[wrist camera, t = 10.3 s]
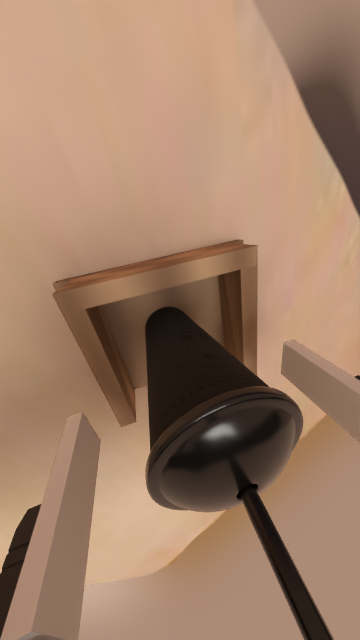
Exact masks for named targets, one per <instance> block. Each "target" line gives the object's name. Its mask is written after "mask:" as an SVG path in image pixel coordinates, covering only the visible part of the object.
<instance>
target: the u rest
mask: <svg viewBox="0 0 360 640" xmlns="http://www.w3.org/2000/svg"><path fill="white" fill-rule="evenodd" d="M257 250H258V245H246V244H243V240H234V241H230V242H226V243H221V244H217V245H213V246H208V247H204V248H199V249H195V250H191V251H186V252H182V253H178V254H173V255H169V256H165V257H160V258H156V259H151V260H147V261H143V262H138V263H134V264H130V265H125V266H121V267H117V268H112V269H108V270H104V271H99V272H95V273H90V274H86V275H82V276H77V277H73V278H69V279H64V280H60V281H56V282H55V283H53V286H54V288H55V290H56V292H55V293H53V294H52V295H53V297H54V299H55V300H56V302H57V304H58V306H59V308H60V310H61V312H62V314H63V316H64V318H65V320H66V322H67V324H68V326H69V327H70V329H71V331H72V333H73V335H74V337H75V339H76V341H77V343H78V345H79V347H80V349H81V351H82V352H83V354H84V356H85V358H86V360H87V362H88V364H89V366H90V368H91V370H92V372H93V374H94V376H95V378H96V379H97V381H98V383H99V385H100V387H101V389H102V391H103V393H104V395H105V397H106V399H107V401H108V403H109V405H110V406H111V408H112V410H113V412H114V414H115V416H116V418H117V420H118V422H119V424H120V426H121V427H123V426H126V425H128V424H131V423H134V422H136V408H135V389H136V388H139V387H142V386H145V385H148V383H147V360H146V337H145V326H146V322H147V320H148V318H149V317H150V315H151V314H152V313H154V312H155V311H156V310H158V309H160V308H164V307H175V308H178V309H180V310H181V311H183V312H184V313H185V314H186V315H187V316H189V317H190V318H191V319H192V320H193V321H194V322H195V323H197V324H198V325H199V326H200V327H201V328H202V329H203V330H205V331H206V332H207V333H208V334H209V335H210V336H212V337H213V338H214V339H215V340H216V341H217V342H218V343H220V344H221V345H222V346H223V347H224V348H225V349H226V350H228V351H229V352H230V353H231V354H232V355H233V356H234V357H236V358H237V359H238V360H239V361H240V362H241V363H243V364H244V365H245V366H246V367H247V368H248V369H249V370H251V371H252V372H253V373H254V374H255V375H256V376H257Z"/></svg>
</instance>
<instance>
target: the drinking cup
mask: <svg viewBox="0 0 360 640" xmlns="http://www.w3.org/2000/svg"><path fill="white" fill-rule="evenodd" d="M145 337H146V360H147V383H148V406H149V429H150V454H149V456H148V460H147V464H146V470H145V476H146V485H147V490H148V492H149V494H150V496H151V497H152V499H153V500H154V501H155V502H156V503H158V504H159V505H161V506H163V507H166V508H169V509H174V510H191V511H197V512H216V511H223V510H228V509H231V508H234V507H236V506H239V505H241V504H244V506H245V508H246V511H247V513H248V515H249V517H250V520H251V522H252V524H253V526H254V528H255V531H256V533H257V535H258V538H259V540H260V542H261V544H262V546H263V549H264V551H265V553H266V555H267V558H268V560H269V562H270V564H271V567H272V569H273V571H274V573H275V576H276V578H277V580H278V582H279V584H280V587H281V589H282V591H283V593H284V596H285V598H286V600H287V602H288V605H289V607H290V609H291V611H292V613H293V616H294V618H295V620H296V622H297V625H298V627H299V629H300V631H301V634H302V636H303V638H304V640H334V639H333V637H332V635H331V633H330V631H329V629H328V627H327V625H326V623H325V621H324V619H323V617H322V616H321V614H320V612H319V610H318V608H317V606H316V604H315V602H314V600H313V598H312V596H311V594H310V592H309V591H308V589H307V587H306V585H305V583H304V581H303V579H302V577H301V575H300V574H299V571H298V569H297V568H296V566H295V564H294V562H293V560H292V558H291V556H290V554H289V552H288V550H287V548H286V546H285V545H284V543H283V541H282V539H281V537H280V535H279V533H278V531H277V529H276V527H275V525H274V523H273V522H272V520H271V518H270V516H269V514H268V512H267V510H266V508H265V506H264V504H263V502H262V501H261V498H260V497H259V494H260V493H262V492H263V491H264V490H265V489H267V488H268V487H269V486H270V485H271V484H272V483H273V482H274V481H275V480H276V478H277V477H278V476H279V474H280V473H281V472H282V470H283V469H284V467H285V465H286V464H287V461H288V460H289V457H290V455H291V452H292V451H293V449H294V447H295V446H296V444H297V442H298V440H299V438H300V435H301V432H302V428H303V416H302V413H301V410H300V408H299V406H298V405H297V404H296V403H295V402H294V401H293V400H292V399H291V398H290V397H289V396H288V395H287V394H285V393H283V392H282V391H280V390H277V389H274V388H271V387H269V386H268V385H267V384H265V383H264V382H263V381H262V380H261V379H260V378H259V377H257V376H256V375H255V374H254V373H253V372H252V371H251V370H249V369H248V368H247V367H246V366H245V365H244V364H243V363H241V362H240V361H239V360H238V359H237V358H236V357H234V356H233V355H232V354H231V353H230V352H229V351H228V350H226V349H225V348H224V347H223V346H222V345H221V344H220V343H218V342H217V341H216V340H215V339H214V338H213V337H212V336H210V335H209V334H208V333H207V332H206V331H205V330H203V329H202V328H201V327H200V326H199V325H198V324H197V323H195V322H194V321H193V320H192V319H191V318H190V317H189V316H187V315H186V314H185V313H184V312H183V311H181V310H180V309H178V308H175V307H164V308H160V309H158V310H156V311H155V312H154V313H152V314H151V315H150V317H149V318H148V320H147V322H146V326H145Z"/></svg>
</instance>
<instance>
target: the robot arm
mask: <svg viewBox="0 0 360 640" xmlns="http://www.w3.org/2000/svg"><path fill="white" fill-rule="evenodd" d="M281 374H282V375H283V376H285V377H286V378H287V379H288V380H289V381H290V382H291V383H293V384H294V385H295V386H296V387H297V388H298V389H299V390H300V391H302V392H303V393H304V394H305V395H306V396H307V397H308V398H309V399H311V400H312V401H313V402H314V403H315V404H316V405H317V406H318V407H320V408H321V409H322V410H323V411H324V412H325V413H326V414H327V415H329V416H330V417H331V418H332V419H333V420H334V421H335V422H337V423H338V424H339V425H340V426H341V427H342V428H343V429H345V430H346V431H347V432H348V433H349V434H350V435H351V436H352V437H353V438H355V439H356V440H357V441H358V442H359V443H360V376H359V375H358V376H355V377H353V376H351V375H350V374H348V373H347V372H345V371H343V370H342V369H340V368H339V367H337V366H335V365H334V364H332V363H331V362H329V361H327V360H326V359H324V358H323V357H321V356H319V355H318V354H316V353H314V352H313V351H311V350H310V349H308V348H306V347H305V346H303V345H302V344H300V343H298V342H297V341H295V340H294V339H293V340H290V341H287V342H284V344H283V356H282V367H281ZM100 441H101V440H100V439H99V437H98V435H97V434H96V432H95V431H94V429H93V428H92V426H91V424H90V423H89V421H88V420H87V418H86V417H85V415H84V414H83V412H80V413H77V414H74V415H71V416H68V419H67V422H66V425H65V429H64V432H63V435H62V438H61V442H60V445H59V448H58V452H57V455H56V458H55V461H54V465H53V468H52V471H51V474H50V478H49V481H48V484H47V488H46V491H45V494H44V497H43V501H42V504H40V505H38V506H35V507H33V508H30V509H28V510H27V512H26V514H25V515H24V517H23V519H22V520H21V522H20V524H19V525H18V527H17V529H16V531H15V534H14V537H13V539H12V542H11V545H10V548H9V550H8V551H9V553H8V555H7V556H6V559H5V561H4V564H3V567H2V572H1V574H0V640H78V635H79V627H80V618H81V609H82V601H83V592H84V583H85V574H86V565H87V556H88V548H89V539H90V530H91V521H92V512H93V503H94V494H95V485H96V477H97V468H98V459H99V450H100Z"/></svg>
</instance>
